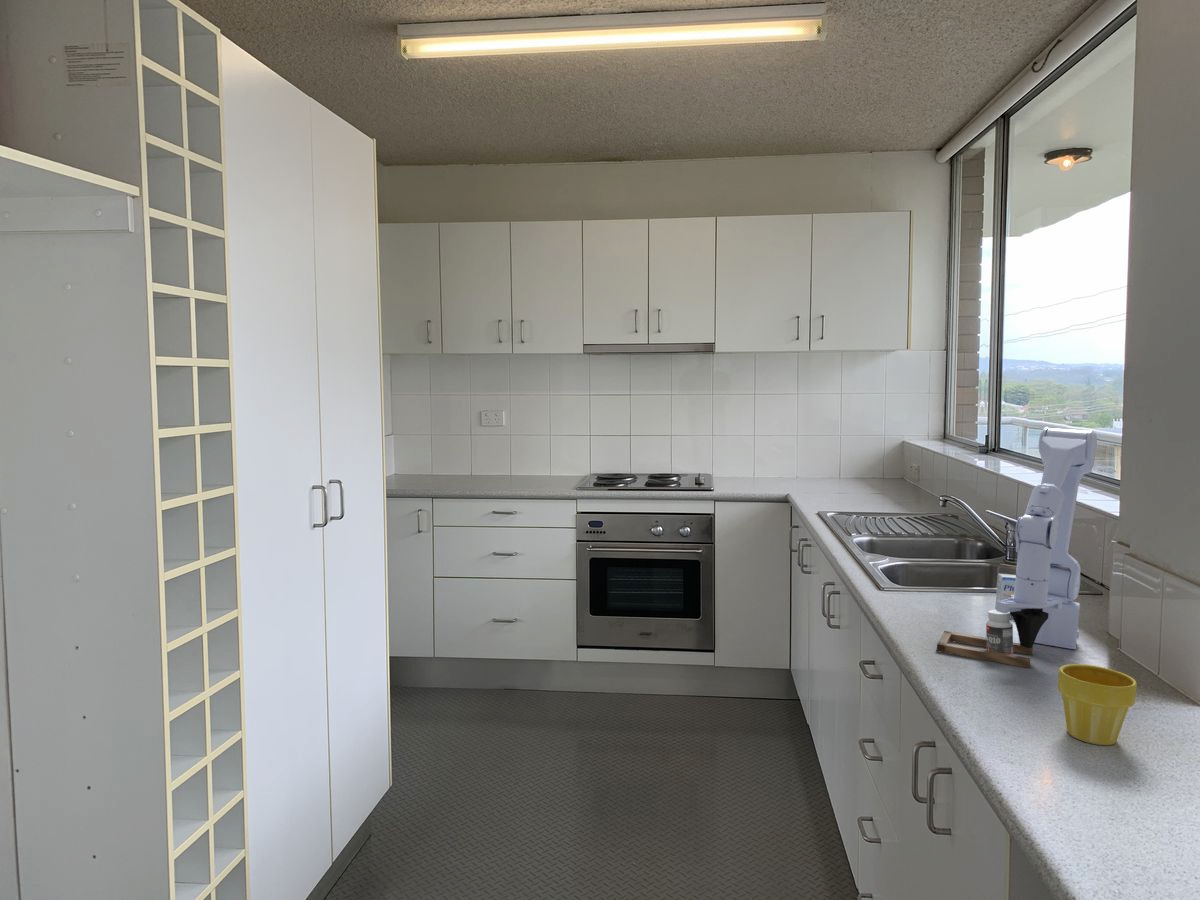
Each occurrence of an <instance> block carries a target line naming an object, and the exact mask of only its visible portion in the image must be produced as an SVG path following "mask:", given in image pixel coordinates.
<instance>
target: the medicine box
mask: <svg viewBox="0 0 1200 900" xmlns="http://www.w3.org/2000/svg"><path fill="white" fill-rule="evenodd" d="M1015 579H1016V574H1009V573H998V574H997V582H996V583H997V584H996V595H995V606H994V607H995V608H994V610H996V607H997V601H1001V600H1005V599H1008V598H1011V595H1014V590H1015Z"/></svg>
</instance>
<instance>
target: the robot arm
mask: <svg viewBox="0 0 1200 900" xmlns="http://www.w3.org/2000/svg"><path fill="white" fill-rule="evenodd" d="M1097 435H1098V434H1097V433H1096V432H1095V431H1094V430H1093V429H1090V430H1082V429H1070V428H1054V427H1053V428H1052V427H1049V426H1045V427H1044V428H1043V429H1042V430H1041V432H1040V435H1039V440H1038V451H1039V453H1038V454H1039V455H1040V459H1041V462H1042V464H1043V468H1044V469H1043V472H1042V477H1041V481H1040V482H1041V483H1040V484H1038V485H1036V486H1034V487H1033V488H1032V490H1031V494H1030V497H1029V499H1028V503H1027V506H1026V509H1025V511H1024V514H1023V516H1021V515H1020V516H1019V517H1018V518H1017V521H1016V525H1015V532H1014V533H1015V535H1014V536H1015V552H1016V554H1017V555H1016V557H1017V558H1016V571H1015V575H1016V579H1015V590H1014V595H1011V598H1008V599H1005V600H1001V601H997V607H996V609H995V610H996V611H998V612H1001V613H1004V614H1005V613H1008V612H1010V613H1011V618H1012V619H1013V622H1014V624H1015V627H1016V631H1017V634H1018V642H1019V643H1020V646H1023V647H1025V648H1028V649H1029V648H1032V647H1033V648H1034V644H1039V645H1046V646H1053V647H1058V648H1064V649H1070V650H1076V649H1077V640H1079V636H1080V630H1079V620H1080V619H1079V617H1080V608H1081V607H1080V606H1081V603H1080V602H1076V601H1074V600H1077V598H1078V596H1079V593H1080V586H1081V569H1082V568H1081V565H1080V563H1079V562H1078V560H1077V559H1076V558H1074V557H1073V556H1072V555H1071V554H1069V548H1070V542H1071V536H1072V530H1073V523H1074V516H1075V511H1076V503H1077V498H1078V491H1079V487H1080V486H1079V485H1080V483H1081V481H1082V477H1083V476H1084V475H1087V474H1090V473H1092V471H1093V468H1094V465H1095V461H1096V460H1095V459H1096V453H1097V446H1098V445H1097V444H1098V437H1097Z"/></svg>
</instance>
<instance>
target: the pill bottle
mask: <svg viewBox="0 0 1200 900" xmlns="http://www.w3.org/2000/svg"><path fill="white" fill-rule="evenodd" d="M987 614H988V615H987V618H988V620H986V623H985V628H986V629H985V630H986V631H985V632H986V633H985V634H986V637H985V638H986V640H987V647H986V650H987V651H993V652H999V653H1004V654H1010V655H1013V654H1014V652H1013V642H1014V626H1013V622H1012V621H1011V620H1012V615H1011V613H1010V612H1008V613H1005V614H1004V613H1001V612H998V611H996V609H991V610H988V611H987Z"/></svg>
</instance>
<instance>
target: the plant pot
mask: <svg viewBox="0 0 1200 900" xmlns="http://www.w3.org/2000/svg"><path fill="white" fill-rule="evenodd" d="M1137 686H1138V684H1137V681H1136V680H1135V679H1134V678H1133V677H1131V676H1130V675H1128V674H1126V673H1123V672H1121V671H1117V670H1114V669H1110V668H1106V667H1102V666H1097V665H1091V664H1080V663H1079V664H1077V663H1076V664H1075V663H1073V664H1072V663H1071V664H1069V663H1068V664H1064V665H1062V666H1060V667H1059V669H1058V677H1057V690H1058V692H1059V693H1061V696H1062V704H1063V709H1064V710H1063V711H1064V717H1065V726H1066V730H1067V733H1068V735H1070V736H1071V737H1073V738H1074V739H1076V740H1079V741H1081V742H1085V743H1088V744H1091V745H1096V746H1097V745H1098V746H1111V745H1115V744H1116V742H1117V741H1118V737H1119V735H1120V732H1121V730H1122V726H1123V724H1124V721H1125V719H1126V715H1127V714H1128V711H1129V708H1131V707H1132V706H1134V705H1135V701H1136V697H1137V688H1138V687H1137Z"/></svg>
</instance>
